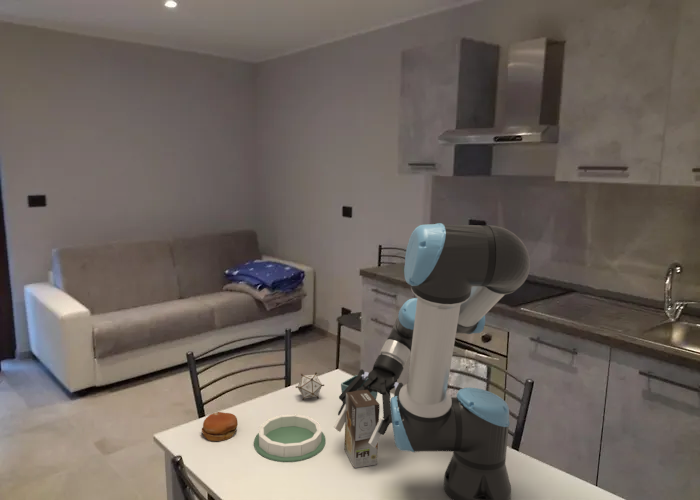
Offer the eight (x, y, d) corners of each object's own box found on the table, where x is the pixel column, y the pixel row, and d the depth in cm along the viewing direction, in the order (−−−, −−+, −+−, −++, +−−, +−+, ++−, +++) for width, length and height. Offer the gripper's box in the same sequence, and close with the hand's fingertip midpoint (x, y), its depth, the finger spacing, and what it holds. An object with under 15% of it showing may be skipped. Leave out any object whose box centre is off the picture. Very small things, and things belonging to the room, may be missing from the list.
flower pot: (339, 411, 152) (339, 383, 151) (355, 401, 160) (356, 374, 158) (363, 420, 147) (364, 391, 146) (378, 409, 155) (380, 381, 153)
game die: (313, 411, 160) (318, 395, 153) (289, 399, 161) (293, 383, 154) (324, 388, 166) (330, 373, 159) (301, 377, 167) (306, 361, 160)
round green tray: (339, 444, 133) (340, 432, 133) (279, 471, 121) (280, 457, 120) (298, 417, 147) (298, 406, 147) (240, 438, 135) (240, 426, 134)
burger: (217, 446, 131) (217, 429, 131) (194, 434, 137) (194, 418, 136) (245, 431, 139) (245, 415, 139) (223, 421, 145) (223, 405, 144)
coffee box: (378, 464, 125) (380, 404, 122) (354, 468, 123) (356, 407, 120) (365, 445, 134) (368, 388, 131) (342, 448, 132) (344, 391, 129)
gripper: (433, 378, 130) (397, 459, 120) (363, 356, 144) (326, 427, 135) (424, 365, 125) (386, 448, 116) (352, 343, 139) (313, 416, 130)
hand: (353, 437), depth 125 cm, fingers closed on coffee box, 10 cm apart
